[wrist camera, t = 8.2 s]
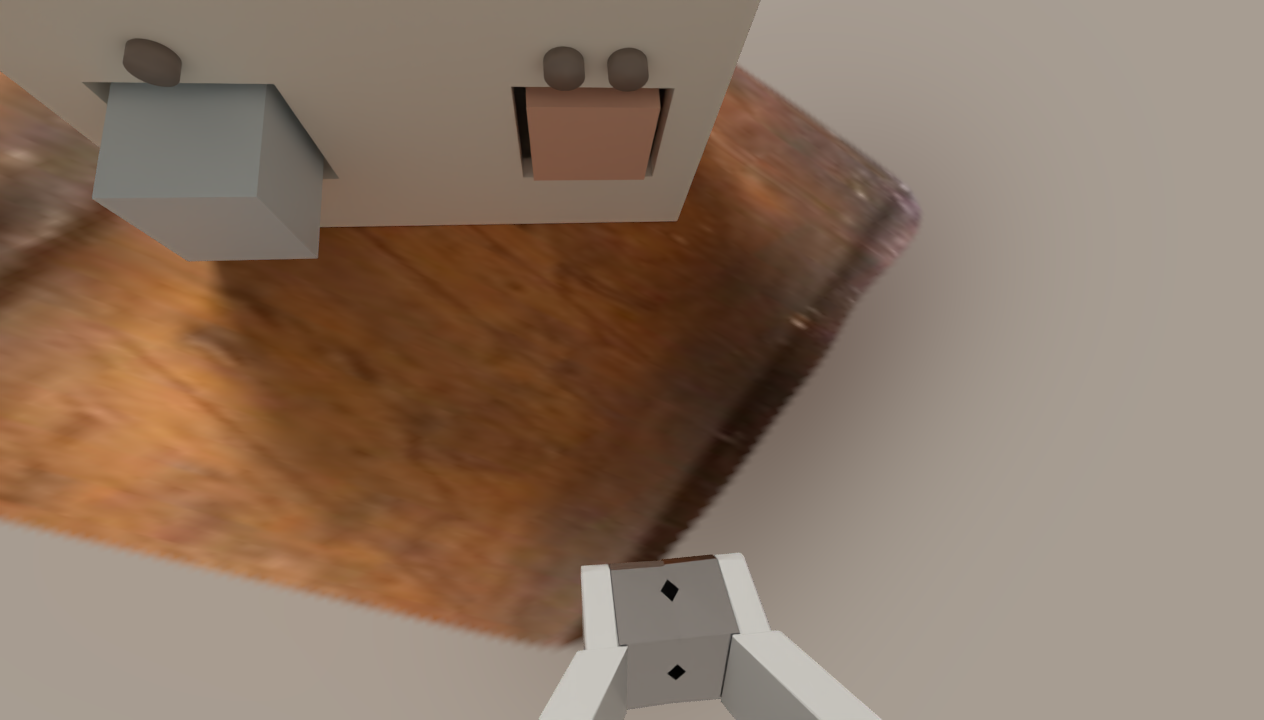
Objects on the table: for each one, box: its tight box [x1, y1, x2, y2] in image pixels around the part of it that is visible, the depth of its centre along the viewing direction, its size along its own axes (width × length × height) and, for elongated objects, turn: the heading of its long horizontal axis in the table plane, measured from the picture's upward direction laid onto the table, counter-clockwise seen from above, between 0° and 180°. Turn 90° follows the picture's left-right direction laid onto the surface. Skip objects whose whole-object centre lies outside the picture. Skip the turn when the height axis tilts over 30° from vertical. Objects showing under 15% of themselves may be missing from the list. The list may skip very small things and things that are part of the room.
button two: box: [526, 87, 661, 181], centre depth 25 cm, size 5×8×5 cm, turn 4°
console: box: [0, 0, 760, 227], centre depth 25 cm, size 24×10×15 cm, turn 94°
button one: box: [92, 82, 324, 261], centre depth 23 cm, size 5×8×5 cm, turn 4°
